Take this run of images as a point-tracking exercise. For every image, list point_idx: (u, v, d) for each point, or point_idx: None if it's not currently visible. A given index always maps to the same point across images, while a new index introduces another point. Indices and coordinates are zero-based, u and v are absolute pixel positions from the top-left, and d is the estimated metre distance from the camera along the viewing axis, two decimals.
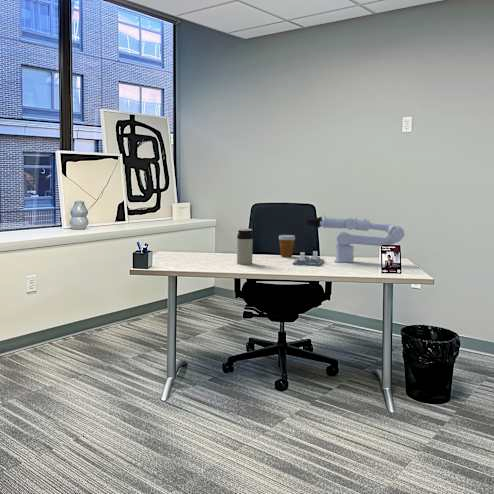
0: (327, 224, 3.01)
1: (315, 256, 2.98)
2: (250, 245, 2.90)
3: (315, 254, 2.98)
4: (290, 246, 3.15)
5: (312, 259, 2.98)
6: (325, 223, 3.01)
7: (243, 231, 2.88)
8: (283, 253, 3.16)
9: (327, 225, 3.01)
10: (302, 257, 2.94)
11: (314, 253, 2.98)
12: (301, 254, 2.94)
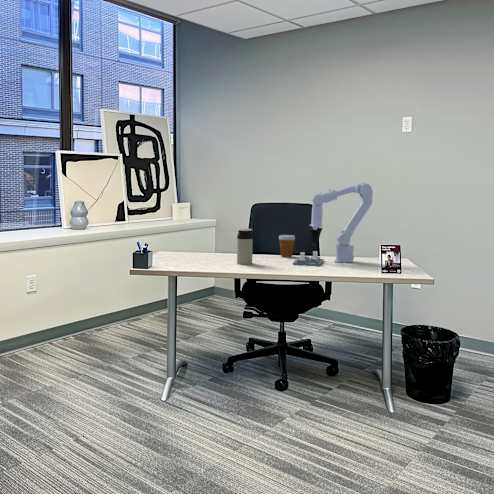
0: (317, 222, 3.00)
1: (315, 256, 2.98)
2: (250, 245, 2.90)
3: (315, 254, 2.98)
4: (290, 246, 3.15)
5: (312, 259, 2.98)
6: (316, 224, 3.00)
7: (243, 231, 2.88)
8: (283, 253, 3.16)
9: (318, 222, 3.00)
10: (302, 257, 2.94)
11: (314, 253, 2.98)
12: (301, 254, 2.94)
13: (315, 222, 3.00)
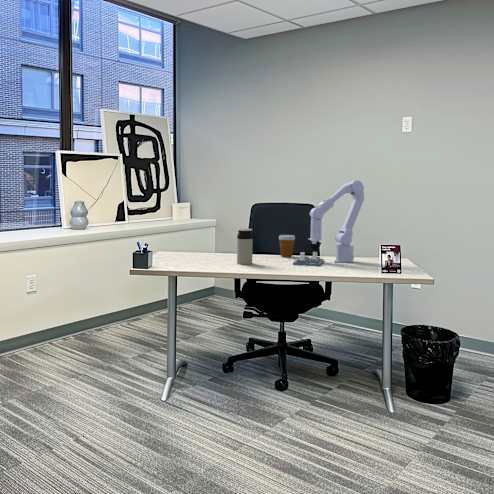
0: (316, 236, 2.96)
1: (315, 256, 2.98)
2: (250, 245, 2.90)
3: (315, 254, 2.97)
4: (290, 246, 3.15)
5: (312, 259, 2.97)
6: (315, 238, 2.97)
7: (243, 231, 2.88)
8: (283, 253, 3.16)
9: (317, 236, 2.97)
10: (302, 257, 2.94)
11: (314, 253, 2.97)
12: (301, 254, 2.94)
13: (314, 236, 2.97)
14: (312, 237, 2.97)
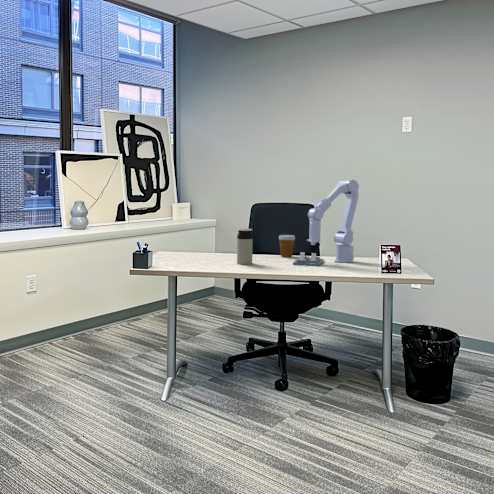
0: (315, 237, 2.91)
1: (314, 258, 2.92)
2: (250, 245, 2.90)
3: (314, 256, 2.92)
4: (290, 246, 3.15)
5: None
6: (314, 239, 2.92)
7: (243, 231, 2.88)
8: (283, 253, 3.16)
9: (316, 237, 2.91)
10: (302, 257, 2.94)
11: (313, 255, 2.92)
12: (301, 254, 2.94)
13: (313, 237, 2.92)
14: (311, 238, 2.92)
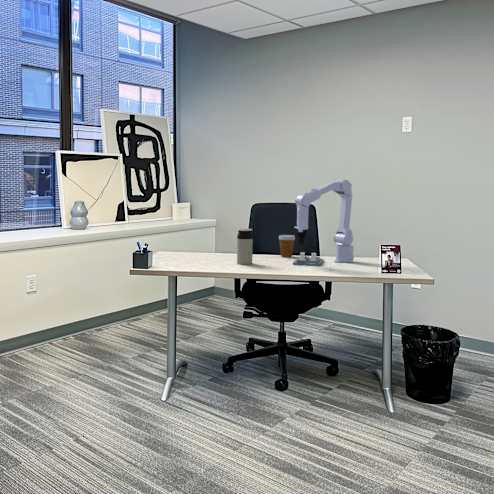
0: (303, 224, 2.85)
1: (314, 258, 2.92)
2: (250, 245, 2.90)
3: (314, 256, 2.92)
4: (290, 246, 3.15)
5: None
6: (302, 226, 2.85)
7: (243, 231, 2.88)
8: (283, 253, 3.16)
9: (304, 224, 2.85)
10: (302, 257, 2.94)
11: (313, 255, 2.92)
12: (301, 254, 2.94)
13: (301, 224, 2.85)
14: (298, 225, 2.86)
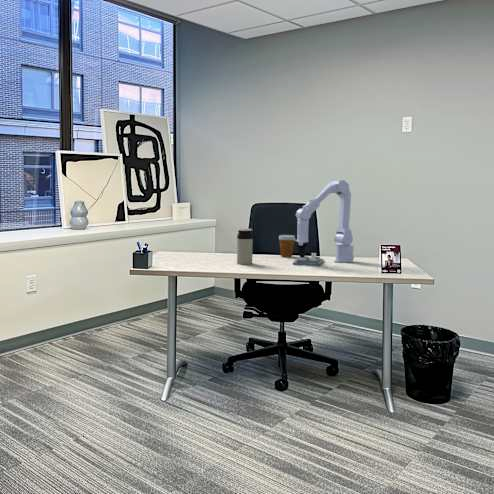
0: (303, 237, 2.90)
1: (314, 258, 2.92)
2: (250, 245, 2.90)
3: (314, 256, 2.92)
4: (290, 246, 3.15)
5: None
6: (302, 239, 2.90)
7: (243, 231, 2.88)
8: (283, 253, 3.16)
9: (304, 237, 2.90)
10: None
11: (313, 255, 2.92)
12: None
13: (301, 237, 2.90)
14: (299, 238, 2.91)
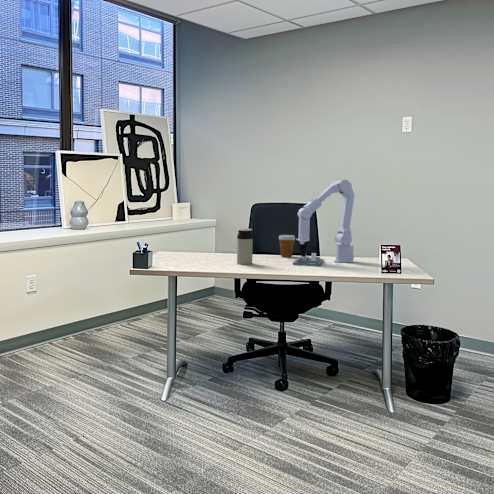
0: (304, 236, 2.95)
1: (314, 258, 2.92)
2: (250, 245, 2.90)
3: (314, 256, 2.92)
4: (290, 246, 3.15)
5: None
6: (303, 238, 2.95)
7: (243, 231, 2.88)
8: (283, 253, 3.16)
9: (305, 236, 2.95)
10: None
11: (313, 255, 2.92)
12: None
13: (302, 236, 2.95)
14: (300, 237, 2.96)
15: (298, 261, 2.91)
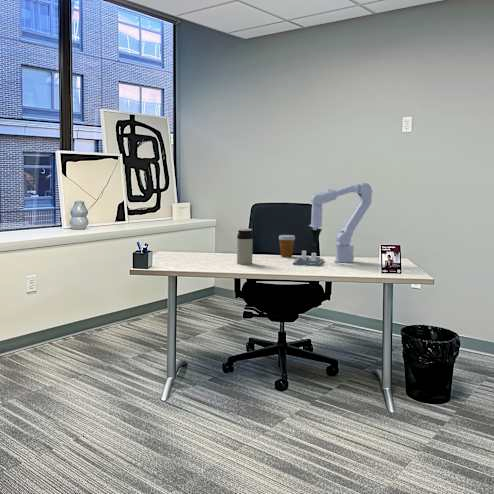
0: (317, 222, 2.98)
1: (314, 258, 2.92)
2: (250, 245, 2.90)
3: (314, 256, 2.92)
4: (290, 246, 3.15)
5: None
6: (316, 224, 2.98)
7: (243, 231, 2.88)
8: (283, 253, 3.16)
9: (318, 222, 2.98)
10: (304, 255, 3.00)
11: (313, 255, 2.92)
12: (303, 252, 3.00)
13: (315, 222, 2.98)
14: (313, 223, 2.99)
15: (298, 261, 2.91)
